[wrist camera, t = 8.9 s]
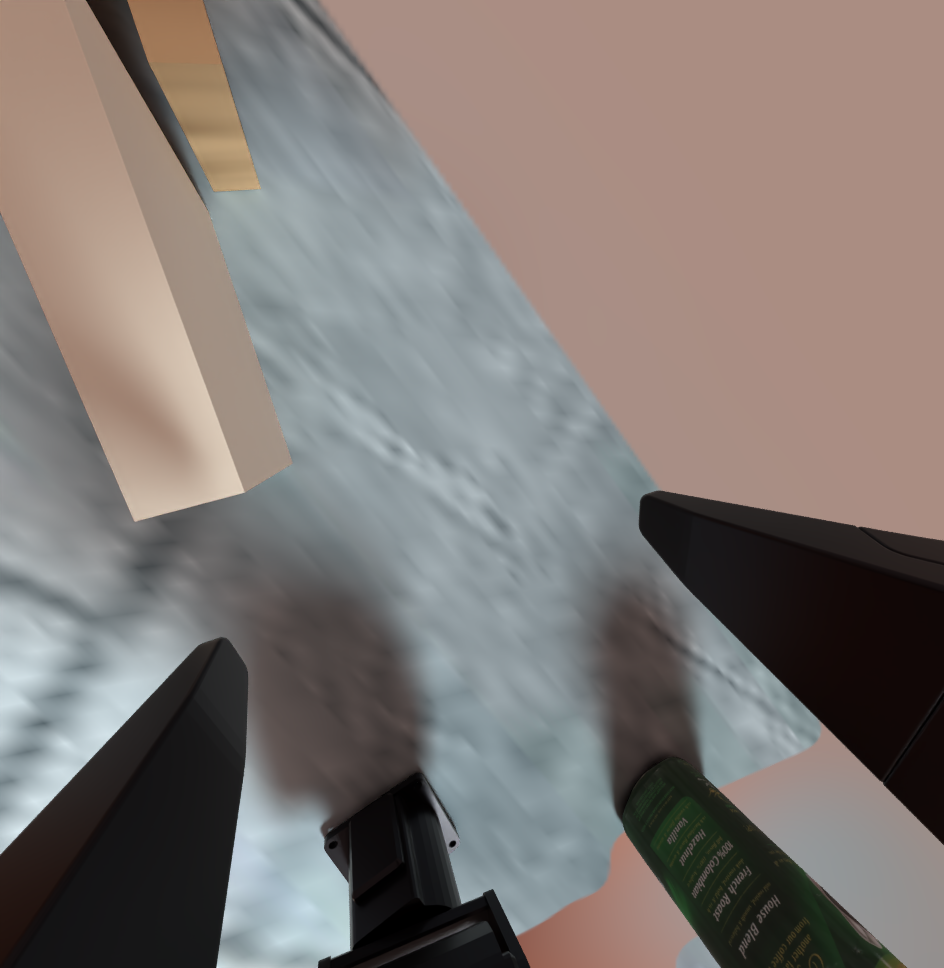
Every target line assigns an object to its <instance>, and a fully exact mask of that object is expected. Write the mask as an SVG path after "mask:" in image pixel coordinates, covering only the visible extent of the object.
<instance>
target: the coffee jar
mask: <svg viewBox="0 0 944 968" xmlns="http://www.w3.org/2000/svg"><path fill="white" fill-rule="evenodd" d="M623 827H624V830H625V832H626V834H627V836H628V838H629V839H630V840H631V842H632V843H633V845H634V846H635V848H636V849H637V851H638V852H639V853H640V855H641V856H642V858H643V859H644V861H645V862H646V863H647V865H648V866H649V868H650V869H651V870H652V872H653V873H654V874H655V876H656V877H657V879H658V880H659V881H660V883H661V884H662V885H663V887H664V888H665V890H666V891H667V892H668V894H669V895H670V897H671V898H672V900H673V901H674V902H675V904H676V905H677V906H678V908H679V909H680V911H681V912H682V913H683V915H684V916H685V918H686V919H687V920H688V922H689V923H690V925H691V926H692V928H693V929H694V930H695V932H696V933H697V935H698V936H699V937H700V939H701V940H702V942H703V943H704V945H705V946H706V947H707V949H708V950H709V952H710V953H711V955H712V956H713V957H714V959H715V960H716V962H717V963H718V964H719V966H720V967H721V968H907V967H906V966H905V965H904V964H903V963H901V962H900V961H899V960H898V959H897V958H896V957H895V956H894V955H893V954H892V953H891V952H889V950H888V949H887V948H885V947H884V946H883V945H882V944H881V943H880V942H879V941H878V940H877V939H876V938H875V937H874V936H873V935H872V934H871V933H870V932H868V931H867V930H866V929H865V928H864V927H863V926H862V925H861V924H860V923H859V922H858V921H857V920H856V919H855V918H854V917H853V916H852V915H850V914H849V913H848V912H847V911H846V910H845V909H844V908H843V907H842V906H841V905H840V904H839V903H838V902H837V901H836V900H835V899H833V898H832V897H831V896H830V895H829V894H828V893H827V892H826V891H825V890H824V889H823V888H822V887H821V886H820V885H819V884H818V883H816V882H815V881H814V880H813V879H812V878H811V877H810V876H809V875H808V874H807V873H806V872H804V870H803V869H802V868H800V867H799V866H798V865H797V864H796V863H795V862H794V861H793V860H792V859H791V858H790V857H788V855H787V854H786V853H784V852H783V851H782V850H781V849H780V848H779V847H778V846H777V845H776V844H775V843H774V842H773V841H772V840H770V839H769V838H768V837H767V836H766V835H765V834H764V833H763V832H762V831H761V830H760V829H759V828H758V827H757V826H756V825H754V824H753V823H752V822H751V821H750V820H749V819H748V818H747V817H746V816H745V815H744V814H743V813H742V812H741V811H740V810H739V809H738V808H737V807H736V806H735V805H734V804H733V803H732V802H731V801H729V799H728V798H727V797H725V796H724V795H723V794H722V793H721V792H720V791H719V790H718V789H717V788H716V787H715V786H714V785H713V784H712V783H711V782H709V781H708V780H707V779H706V778H705V777H704V776H703V775H702V774H701V773H700V772H699V771H698V770H697V769H695V768H694V767H693V766H692V765H690V764H689V763H688V762H686V761H684V760H683V759H680V758H677V757H669V758H667V759H665V760H663V761H662V762H660V763H659V764H657V765H656V766H654V767H653V768H652V769H650V770H648V771H647V772H646V773H645V774H644V775H643V776H642V777H641V778H640V779H639V780H638V782H637V783H636V785H635V787H634V788H633V790H632V792H631V795H630V798H629V800H628V802H627V804H626V807H625V810H624V814H623Z"/></svg>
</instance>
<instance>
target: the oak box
mask: <svg viewBox="0 0 944 968" xmlns="http://www.w3.org/2000/svg"><path fill="white" fill-rule="evenodd" d="M127 1H128V4H129V7H130V10H131V13H132V16H133V19H134V22H135V25H136V28H137V30H138V33H139V36H140V39H141V42H142V45H143V48H144V51H145V54H146V57H147V60H148V63H149V65H150V67H151V69H152V71H153V73H154V74H155V76H156V78H157V80H158V82H159V84H160V86H161V88H162V90H163V92H164V94H165V96H166V98H167V100H168V102H169V104H170V106H171V108H172V110H173V112H174V114H175V116H176V118H177V120H178V122H179V124H180V126H181V128H182V130H183V132H184V134H185V135H186V137H187V139H188V141H189V143H190V145H191V147H192V149H193V151H194V153H195V155H196V157H197V159H198V161H199V163H200V165H201V167H202V169H203V171H204V173H205V175H206V177H207V179H208V181H209V183H210V185H211V187H212V189H213V191H214V192H217V191H234V190H251V189H261V188H260V184H259V181H258V178H257V175H256V171H255V168H254V165H253V162H252V158H251V155H250V152H249V149H248V145H247V142H246V139H245V136H244V132H243V129H242V126H241V122H240V119H239V116H238V113H237V109H236V106H235V103H234V100H233V96H232V93H231V90H230V87H229V83H228V80H227V77H226V74H225V70H224V67H223V64H222V61H221V57H220V54H219V51H218V48H217V44H216V41H215V38H214V35H213V31H212V28H211V25H210V21H209V18H208V15H207V12H206V8H205V5H204V2H203V0H127Z"/></svg>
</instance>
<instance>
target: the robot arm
mask: <svg viewBox="0 0 944 968" xmlns="http://www.w3.org/2000/svg"><path fill="white" fill-rule="evenodd" d="M639 529H640V531H641V533H642V535H643V536H644V537H645V539H646V540H647V541H648V542H649V544H650V545H651V546H652V547H653V548H654V550H655V551H656V552H657V553H658V554H659V556H660V557H661V558H662V559H663V560H664V562H665V563H666V564H667V565H668V567H669V568H670V569H671V570H672V571H673V573H674V574H675V575H676V576H677V577H678V578H679V580H680V581H681V582H682V583H683V584H684V585H685V586H686V587H687V588H688V589H689V591H690V592H691V593H692V594H693V595H694V596H695V597H696V598H697V599H698V600H699V601H700V602H701V603H702V604H703V605H704V606H705V607H706V608H707V609H708V610H709V611H710V612H711V613H712V614H713V615H714V616H715V617H716V618H717V619H718V620H719V621H720V622H721V623H722V624H723V625H724V626H725V627H726V628H727V629H728V630H729V631H730V632H731V633H732V634H733V635H734V636H735V637H736V638H737V639H738V640H739V641H740V642H741V643H742V644H743V645H744V646H745V647H746V648H747V649H748V650H749V651H750V652H751V653H752V654H753V655H754V656H755V657H756V658H757V659H758V660H759V661H760V662H761V663H762V664H763V665H764V666H765V667H766V668H767V669H768V670H769V671H770V672H771V673H772V674H773V675H774V676H775V677H776V678H777V679H778V680H779V681H780V682H781V683H782V684H783V685H784V686H785V687H786V688H787V689H788V690H789V691H790V692H791V693H792V694H793V695H794V696H795V697H796V698H797V699H798V700H799V701H800V702H801V703H802V704H803V705H804V706H805V707H806V708H807V709H808V710H809V711H810V712H811V713H812V714H813V715H814V716H816V717H817V718H818V719H819V720H820V721H821V722H822V723H823V724H824V725H825V726H826V727H827V728H828V729H829V730H830V731H831V732H832V733H833V734H834V735H835V736H836V737H837V738H838V739H839V740H840V741H841V742H842V743H843V744H844V745H845V746H846V747H847V748H848V749H849V750H850V751H851V752H852V753H853V754H854V755H855V756H856V757H857V758H858V759H859V760H860V761H861V762H862V763H863V764H864V765H865V766H866V767H867V768H868V769H869V770H870V771H871V772H872V773H873V774H874V775H875V776H876V777H877V778H878V779H879V780H880V781H881V782H883V784H884V786H885V787H886V788H887V789H888V790H889V791H890V792H891V793H892V794H894V796H896V798H897V799H898V800H899V801H901V803H902V804H903V805H904V806H906V808H907V809H908V810H909V811H910V812H911V813H912V814H913V815H914V816H915V817H916V818H917V819H918V820H919V821H920V822H921V823H922V824H923V825H924V826H925V827H926V828H927V829H928V830H929V831H930V832H932V834H933V835H934V836H935V837H936V838H937V839H938V840H939V841H940V842H941V843H942V844H943V845H944V541H942V540H936V539H929V538H923V537H917V536H911V535H905V534H900V533H893V532H888V531H882V530H876V529H871V528H866V527H858V528H857V527H856V526H853V525H848V524H842V523H837V522H832V521H826V520H821V519H815V518H809V517H804V516H798V515H793V514H787V513H782V512H776V511H771V510H765V509H760V508H754V507H748V506H743V505H738V504H732V503H726V502H721V501H715V500H710V499H704V498H699V497H693V496H687V495H682V494H676V493H670V492H665V491H654V492H651V493H648V494H645V495H644V496H642V498H641V500H640V510H639ZM247 701H248V671H247V668H246V665H245V663H244V662H243V660H242V659H241V657H240V656H239V654H238V653H237V651H236V650H235V648H234V647H233V645H232V644H231V642H230V641H229V640H228V639H227V638H224V637H220V638H217V639H214V640H211V641H208V642H205V643H203V644H200V645H199V646H197V647H196V648H195V649H194V650H193V652H192V653H191V654H190V655H189V656H188V657H187V658H186V659H185V660H184V661H183V662H182V663H181V664H180V665H179V666H178V667H177V668H176V670H175V671H174V672H173V673H172V674H171V675H170V676H169V677H168V678H167V679H166V680H165V681H164V682H163V683H162V684H161V685H160V686H159V688H158V689H157V690H156V691H155V692H154V693H153V694H152V695H151V696H150V697H149V698H148V699H147V700H146V701H145V702H144V703H143V704H142V705H141V707H140V708H139V709H138V710H137V711H136V712H135V713H134V714H133V715H132V716H131V717H130V718H129V719H128V720H127V721H126V722H125V723H124V725H123V726H122V727H121V728H120V729H119V730H118V731H117V732H116V733H115V734H114V735H113V736H112V737H111V738H110V739H109V740H108V741H107V742H106V744H105V745H104V746H103V747H102V748H101V749H100V750H99V751H98V752H97V753H96V754H95V755H94V756H93V757H92V758H91V759H90V760H89V762H88V763H87V764H86V765H85V766H84V767H83V768H82V769H81V770H80V771H79V772H78V773H77V774H76V775H75V776H74V777H73V778H72V779H71V781H70V782H69V783H68V784H67V785H66V786H65V787H64V788H63V789H62V790H61V791H60V792H59V793H58V794H57V795H56V796H55V797H54V798H53V800H52V801H51V802H50V803H49V804H48V805H47V806H46V807H45V808H44V809H43V810H42V811H41V812H40V813H39V814H38V815H37V816H36V818H35V819H34V820H33V821H32V822H31V823H30V824H29V825H28V826H27V827H26V828H25V829H24V830H23V831H22V832H21V833H20V834H19V835H18V837H17V838H16V839H15V840H14V841H13V842H12V843H11V844H10V845H9V846H8V847H7V848H6V849H5V850H4V851H3V852H2V853H1V854H0V968H216V966H217V959H218V952H219V945H220V938H221V931H222V924H223V917H224V910H225V903H226V896H227V889H228V882H229V875H230V868H231V861H232V854H233V847H234V840H235V833H236V826H237V819H238V812H239V805H240V798H241V790H242V783H243V776H244V768H245V757H246V734H247ZM416 782H419V783H417V784H415V783H416ZM333 841H335V842H333ZM459 844H460V840H459V836H458V833H457V831H456V830H455V828H454V826H453V825H452V823H451V821H450V819H449V818H448V816H447V814H446V813H445V811H444V809H443V808H442V806H441V804H440V803H439V801H438V799H437V798H436V796H435V794H434V792H433V791H432V789H431V787H430V786H429V784H428V782H427V781H426V779H425V777H424V776H423V774H421V773H415V774H413V775H412V776H410V777H409V778H407V779H406V780H405V781H403V782H402V783H400V784H399V785H397V786H396V787H394V788H393V789H392V790H390V791H389V792H387V793H386V794H384V795H383V796H382V797H380V798H379V799H377V800H376V801H374V802H373V803H371V804H370V805H369V806H367V807H366V808H364V809H363V810H361V811H360V812H359V813H357V814H356V815H354V816H353V817H351V818H350V819H348V820H347V821H346V822H344V823H343V824H341V825H340V826H338V827H337V828H336V829H334V830H333V831H331V832H330V833H329V834H328V835H327V836H326V837H325V841H324V849H325V851H326V853H327V854H328V856H329V857H330V858H331V860H332V861H333V862H334V864H335V865H336V866H337V868H338V869H339V871H340V872H341V873H342V875H343V876H344V877H345V879H346V880H347V882H348V883H349V908H350V950H351V951H348V952H346V953H344V954H341V955H339V956H336V957H334V958H332V959H331V956H330V957H327V958H325V959H322V960H320V961H319V962H318V968H530V966H529V963H528V961H527V959H526V956H525V954H524V953H523V950H522V948H521V946H520V944H519V942H518V940H517V938H516V936H515V934H514V931H513V929H512V927H511V925H510V923H509V921H508V919H507V917H506V915H505V913H504V911H503V909H502V907H501V905H500V902H499V900H498V898H497V896H496V894H495V892H494V890H493V889H492V890H489V891H487V892H484V893H483V896H481V897H478V898H476V899H474V900H471V901H469V902H466V903H464V904H461V900H460V896H459V892H458V889H457V885H456V881H455V877H454V873H453V870H452V866H451V862H450V858H449V854H450V853H451V852H453V851H454V850H455V849H456V848H457V847H458V846H459Z"/></svg>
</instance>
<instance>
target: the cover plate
mask: <svg viewBox="0 0 944 968" xmlns="http://www.w3.org/2000/svg"><path fill="white" fill-rule="evenodd" d="M0 212H1V215H2V217H3V219H4V222H5V224H6V226H7V228H8V231H9V233H10V235H11V238H12V240H13V242H14V245H15V247H16V249H17V252H18V254H19V256H20V258H21V261H22V263H23V265H24V268H25V270H26V272H27V275H28V277H29V279H30V282H31V284H32V286H33V289H34V291H35V293H36V295H37V298H38V300H39V302H40V305H41V307H42V309H43V312H44V314H45V316H46V319H47V321H48V323H49V325H50V328H51V330H52V332H53V335H54V337H55V339H56V342H57V344H58V346H59V349H60V351H61V353H62V355H63V358H64V360H65V362H66V365H67V367H68V369H69V372H70V374H71V376H72V379H73V381H74V383H75V385H76V388H77V390H78V392H79V395H80V397H81V399H82V402H83V404H84V406H85V409H86V411H87V413H88V415H89V418H90V420H91V422H92V425H93V427H94V429H95V432H96V434H97V436H98V439H99V441H100V443H101V446H102V448H103V450H104V452H105V455H106V457H107V459H108V462H109V464H110V466H111V469H112V471H113V473H114V476H115V478H116V480H117V482H118V485H119V487H120V489H121V492H122V494H123V496H124V499H125V501H126V503H127V506H128V508H129V510H130V512H131V515H132V517H133V519H134V522H135V521H139V520H143V519H147V518H151V517H154V516H158V515H162V514H166V513H169V512H173V511H177V510H181V509H185V508H188V507H192V506H196V505H200V504H203V503H207V502H211V501H215V500H219V499H222V498H226V497H230V496H234V495H238V494H241V493H245V492H247V491H248V490H250V489H251V488H253V487H255V486H256V485H258V484H260V483H261V482H263V481H265V480H266V479H268V478H270V477H271V476H273V475H275V474H276V473H278V472H280V471H281V470H283V469H285V468H286V467H288V466H290V465H291V464H293V463H292V460H291V457H290V454H289V451H288V448H287V445H286V442H285V439H284V436H283V433H282V430H281V427H280V424H279V421H278V418H277V415H276V412H275V409H274V406H273V403H272V400H271V397H270V394H269V391H268V388H267V385H266V382H265V379H264V376H263V373H262V370H261V367H260V364H259V361H258V358H257V355H256V352H255V349H254V346H253V343H252V340H251V337H250V334H249V331H248V328H247V325H246V322H245V319H244V316H243V313H242V310H241V307H240V304H239V301H238V298H237V295H236V292H235V289H234V286H233V283H232V280H231V277H230V274H229V271H228V269H227V266H226V263H225V260H224V257H223V254H222V251H221V248H220V245H219V242H218V239H217V236H216V233H215V230H214V227H213V224H212V221H211V218H210V215H209V212H208V210H207V208H206V207H205V205H204V203H203V202H202V200H201V198H200V196H199V195H198V193H197V191H196V189H195V188H194V186H193V184H192V183H191V181H190V179H189V177H188V176H187V174H186V172H185V170H184V169H183V167H182V165H181V164H180V162H179V160H178V158H177V157H176V155H175V153H174V151H173V150H172V148H171V146H170V145H169V143H168V141H167V139H166V138H165V136H164V134H163V133H162V131H161V129H160V127H159V126H158V124H157V122H156V120H155V119H154V117H153V115H152V114H151V112H150V110H149V108H148V107H147V105H146V103H145V101H144V100H143V98H142V96H141V95H140V93H139V91H138V89H137V88H136V86H135V84H134V83H133V81H132V79H131V77H130V76H129V74H128V72H127V70H126V69H125V67H124V65H123V64H122V62H121V60H120V58H119V57H118V55H117V53H116V51H115V50H114V48H113V46H112V45H111V43H110V41H109V39H108V38H107V36H106V34H105V32H104V31H103V29H102V27H101V26H100V24H99V22H98V20H97V19H96V17H95V15H94V14H93V12H92V10H91V8H90V7H89V5H88V3H87V1H86V0H0Z"/></svg>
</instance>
